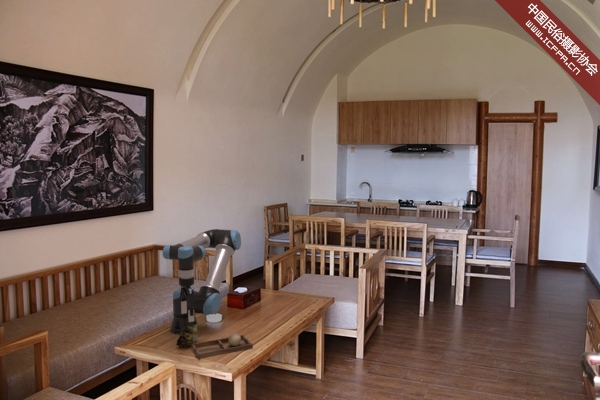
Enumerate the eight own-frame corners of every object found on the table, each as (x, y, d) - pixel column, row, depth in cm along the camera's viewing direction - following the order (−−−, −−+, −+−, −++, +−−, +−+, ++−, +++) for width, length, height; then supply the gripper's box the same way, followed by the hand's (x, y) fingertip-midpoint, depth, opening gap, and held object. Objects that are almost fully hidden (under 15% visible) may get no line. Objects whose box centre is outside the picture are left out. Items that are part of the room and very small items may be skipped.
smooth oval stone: (226, 344, 251) (226, 332, 251) (238, 342, 254) (238, 329, 254) (230, 349, 245) (230, 336, 245) (243, 346, 248) (242, 334, 248)
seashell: (174, 342, 256) (173, 324, 255) (196, 339, 260) (196, 321, 259) (176, 350, 246) (176, 331, 245) (199, 347, 250) (199, 328, 249)
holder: (191, 349, 247) (191, 344, 247) (243, 339, 259) (243, 334, 259) (199, 360, 235) (199, 354, 234) (252, 349, 247) (252, 344, 246)
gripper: (172, 272, 258) (174, 311, 261) (185, 284, 236) (187, 326, 239) (186, 270, 262) (188, 308, 264) (200, 282, 240) (202, 323, 242)
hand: (187, 317), depth 252 cm, fingers open, 13 cm apart
